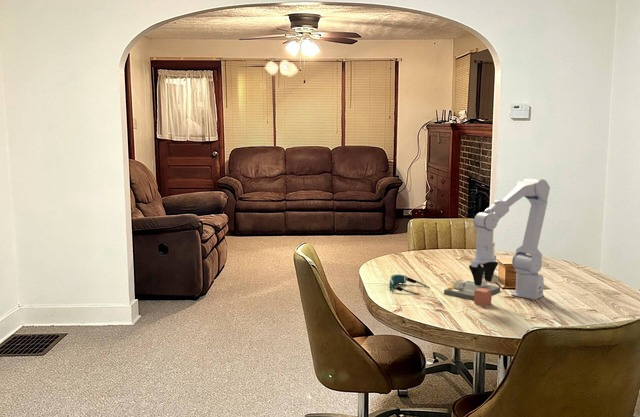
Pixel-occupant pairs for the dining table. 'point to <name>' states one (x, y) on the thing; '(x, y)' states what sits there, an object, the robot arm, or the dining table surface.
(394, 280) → the sunglasses
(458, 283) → the tagged breaker switch
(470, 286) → the breaker panel
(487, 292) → the block
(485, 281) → the breaker switch
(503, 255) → the dining table surface
